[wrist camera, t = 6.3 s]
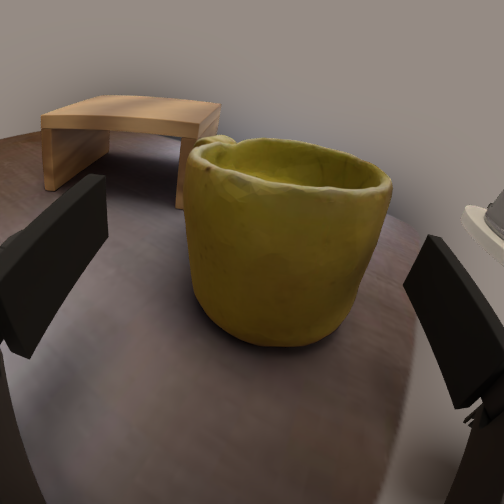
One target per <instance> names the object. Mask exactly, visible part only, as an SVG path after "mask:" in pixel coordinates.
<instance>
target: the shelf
mask: <svg viewBox="0 0 504 504" xmlns="http://www.w3.org/2000/svg"><path fill="white" fill-rule="evenodd" d="M220 110H221V104H217V103H210V102H202V101H193V100H183V99H172V98H160V97H144V96H123V95H102V96H98V97H95V98H92V99H88V100H84V101H81V102H78V103H75V104H72V105H69V106H66V107H63V108H60V109H57V110H54V111H51V112H49V113H46V114H43V115H41V128H42V129H41V140H42V159H43V172H44V183H45V190H49V191H56V190H57V189H58V188H59V187H61V186H62V185H63V184H65V183H66V182H67V181H68V180H70V179H71V178H72V177H74V176H75V175H76V174H78V173H79V172H81V171H82V170H83V169H85V168H86V167H87V166H89V165H90V164H92V163H93V162H95V161H96V160H97V159H99V158H100V157H102V156H103V155H105V154H106V153H108V152H109V135H110V131H124V132H137V133H148V134H158V135H167V136H176V137H182V138H181V147H180V157H179V168H178V179H177V191H176V205H175V208H177V209H184V207H183V184H184V178H185V168H186V162H187V159H188V156H189V153H190V152H191V151H192V150H193V146H194V144H195V143H196V141H197V140H199V139H201V138H204V137H211V136H216V135H217V129H218V122H219V116H220Z"/></svg>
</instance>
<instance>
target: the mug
mask: <svg viewBox="0 0 504 504" xmlns="http://www.w3.org/2000/svg"><path fill="white" fill-rule="evenodd" d="M392 190H393V187H392V182H391V179H390V177H388V176H387V175H386V174H385V173H384V172H383V171H382V170H381V169H379V168H378V167H377V166H376V165H374V164H372V163H370V162H366V161H364V160H361V159H359V158H357V157H355V156H353V155H351V154H349V153H346V152H342V151H338V150H333V149H330V148H324V147H321V146H319V145H315V144H310V143H306V142H301V141H295V140H284V139H273V138H271V139H270V138H256V139H248V140H243V141H242V142H239V143H236V141H235V140H233V139H232V138H230V137H227V136H224V135H216V136H211V137H204V138H201V139H199V140H197V141H196V143H195V144H194V146H193V150H192V151H191V152H190V153H189V156H188V159H187V162H186V168H185V178H184V184H183V207H184V215H185V224H186V235H187V244H188V253H189V261H190V270H191V278H192V284H193V290H194V293H195V296H196V298H197V300H198V301H199V303H200V305H201V306H202V308H203V309H204V311H205V313H206V314H207V315H208V316H209V317H210V319H211V320H212V321H213V322H215V323H216V324H217V325H218V326H219V327H221V328H222V329H223V330H225V331H226V332H228V333H229V334H231V335H233V336H235V337H236V338H238V339H240V340H243V341H246V342H248V343H251V344H255V345H258V346H276V347H298V346H306V345H309V344H311V343H315V342H317V341H319V340H320V339H322V338H324V337H326V336H328V335H330V334H331V333H332V332H333V331H334V330H336V329H337V328H338V326H339V325H340V324H341V323H342V321H343V320H344V319H345V318H346V316H347V315H348V313H349V311H350V310H351V307H352V305H353V303H354V301H355V298H356V295H357V291H358V288H359V285H360V282H361V280H362V277H363V275H364V273H365V270H366V268H367V266H368V264H369V261H370V259H371V256H372V254H373V252H374V249H375V247H376V245H377V242H378V239H379V235H380V232H381V228H382V225H383V222H384V219H385V216H386V213H387V210H388V207H389V204H390V200H391V197H392Z"/></svg>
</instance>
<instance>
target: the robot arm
mask: <svg viewBox="0 0 504 504" xmlns="http://www.w3.org/2000/svg"><path fill="white" fill-rule="evenodd" d="M487 208H488V209H487V211H486V213H485V215H484V221H485V223H486V224H487V225H488V226H489V228H490V229H491V230H492V231H493V232H494V233H495V234H496V235H497V236H499V237H500V238H501V239H502V240H503V241H504V190H503V191H502V192H501V194H500V195H499V196H498V197H497V199H496V201H495V202H494V203H490V204H489V206H488V207H487ZM108 237H109V236H108V222H107V204H106V175H97V174H88V175H87V176H85V177H84V178H83V179H81V180H80V181H79V182H78V183H76V184H75V185H74V186H73V187H72V188H70V189H69V190H68V191H67V192H65V193H64V194H63V195H62V196H61V197H59V198H58V199H57V200H56V201H55V202H54V203H52V204H51V205H50V206H49V207H48V208H47V209H46V210H45V211H43V212H42V213H41V214H40V215H39V216H38V217H37V218H36V219H35V220H34V221H32V222H31V223H30V224H29V225H28V226H27V227H26V228H25V229H24V230H21V231H19V232H17V233H15V234H14V235H12V236H10V237H9V238H8V239H7V240H6V241H5V242H4V243H3V244H2V245H1V246H0V344H1V343H2V341H3V339H4V340H5V342H6V344H7V346H8V347H9V349H10V351H11V352H13V353H15V354H17V355H20V356H22V357H25V358H27V359H29V360H30V358H31V356H32V354H33V352H34V351H35V349H36V347H37V345H38V343H39V342H40V340H41V338H42V336H43V335H44V333H45V331H46V330H47V328H48V326H49V325H50V323H51V321H52V320H53V318H54V316H55V315H56V313H57V311H58V310H59V308H60V307H61V305H62V303H63V302H64V300H65V299H66V297H67V296H68V294H69V292H70V291H71V289H72V288H73V286H74V285H75V283H76V282H77V280H78V279H79V277H80V276H81V274H82V273H83V272H84V270H85V269H86V267H87V266H88V264H89V263H90V261H91V260H92V259H93V257H94V256H95V254H96V253H97V252H98V250H99V249H100V248H101V246H102V245H103V243H104V242H105V241H106V239H107V238H108ZM403 287H404V289H405V291H406V293H407V295H408V297H409V299H410V301H411V303H412V305H413V307H414V310H415V312H416V314H417V316H418V318H419V320H420V323H421V325H422V327H423V329H424V332H425V334H426V336H427V338H428V341H429V343H430V345H431V348H432V350H433V353H434V355H435V358H436V360H437V362H438V365H439V367H440V370H441V372H442V375H443V378H444V380H445V383H446V386H447V389H448V391H449V394H450V397H451V399H452V402H453V405H454V408H455V409H462V408H468V407H470V406H471V405H472V404H473V403H474V402H475V401H477V400H478V399H479V398H480V397H481V399H482V402H483V403H482V404H481V405H480V406H479V407H478V408H477V409H476V410H474V411H473V412H472V413H471V414H470V415H469V416H467V417H466V418H465V420H464V422H463V423H466V422H468V421H469V420H470V419H471V418H472V419H474V420H473V421H472V422H471V423H470V424H469V425H468V426H469V427H471V428H472V429H471V432H470V436H469V439H468V442H467V445H466V449H465V452H464V455H463V458H462V460H461V463H460V466H459V469H458V472H457V474H456V477H455V479H454V482H453V484H452V487H451V489H450V492H449V494H448V496H447V498H446V501H445V503H444V504H504V327H503V325H502V324H501V322H500V320H499V319H498V317H497V315H496V314H495V312H494V311H493V309H492V307H491V306H490V304H489V303H488V301H487V300H486V298H485V297H484V295H483V294H482V292H481V291H480V289H479V288H478V286H477V285H476V283H475V282H474V281H473V279H472V278H471V276H470V275H469V274H468V272H467V271H466V269H465V268H464V267H463V265H462V264H461V263H460V261H459V260H458V259H457V257H456V256H455V255H454V253H453V252H452V251H451V249H450V248H449V247H448V246H447V244H446V243H445V242H444V241H443V239H442V238H441V237H437V236H433V235H428V236H427V238H426V240H425V242H424V244H423V246H422V248H421V250H420V252H419V254H418V256H417V258H416V260H415V262H414V264H413V266H412V268H411V270H410V272H409V274H408V276H407V278H406V280H405V281H404V283H403ZM0 504H46V502H45V500H44V498H43V495H42V493H41V491H40V488H39V486H38V484H37V481H36V479H35V476H34V474H33V471H32V468H31V466H30V463H29V460H28V457H27V454H26V451H25V448H24V445H23V442H22V439H21V436H20V432H19V429H18V425H17V422H16V418H15V414H14V410H13V406H12V402H11V398H10V393H9V388H8V383H7V378H6V373H5V367H4V361H3V354H2V352H1V349H0Z"/></svg>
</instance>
